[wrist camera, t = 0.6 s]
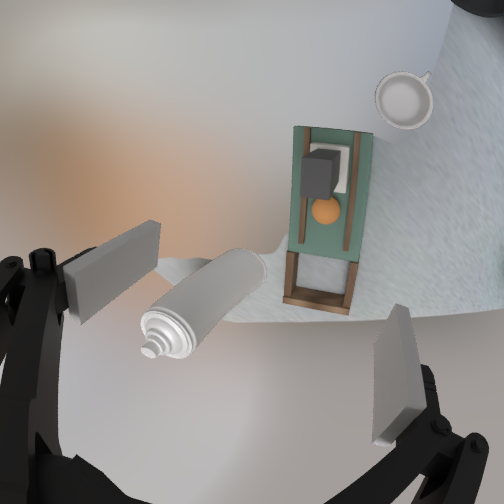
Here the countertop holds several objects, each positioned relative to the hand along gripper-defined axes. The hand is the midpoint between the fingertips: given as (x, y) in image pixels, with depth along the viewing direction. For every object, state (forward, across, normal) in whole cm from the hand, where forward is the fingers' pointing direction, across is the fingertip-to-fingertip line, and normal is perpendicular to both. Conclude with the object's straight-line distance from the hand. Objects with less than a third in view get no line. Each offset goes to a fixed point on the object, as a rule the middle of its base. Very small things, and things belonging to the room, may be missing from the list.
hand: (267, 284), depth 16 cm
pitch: (+33, +2, -1) cm, 33 cm away
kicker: (+30, 0, +3) cm, 30 cm away
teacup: (+32, +8, +16) cm, 37 cm away
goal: (+34, +4, -14) cm, 37 cm away
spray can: (+35, -11, -20) cm, 42 cm away
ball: (+28, +2, -3) cm, 28 cm away
